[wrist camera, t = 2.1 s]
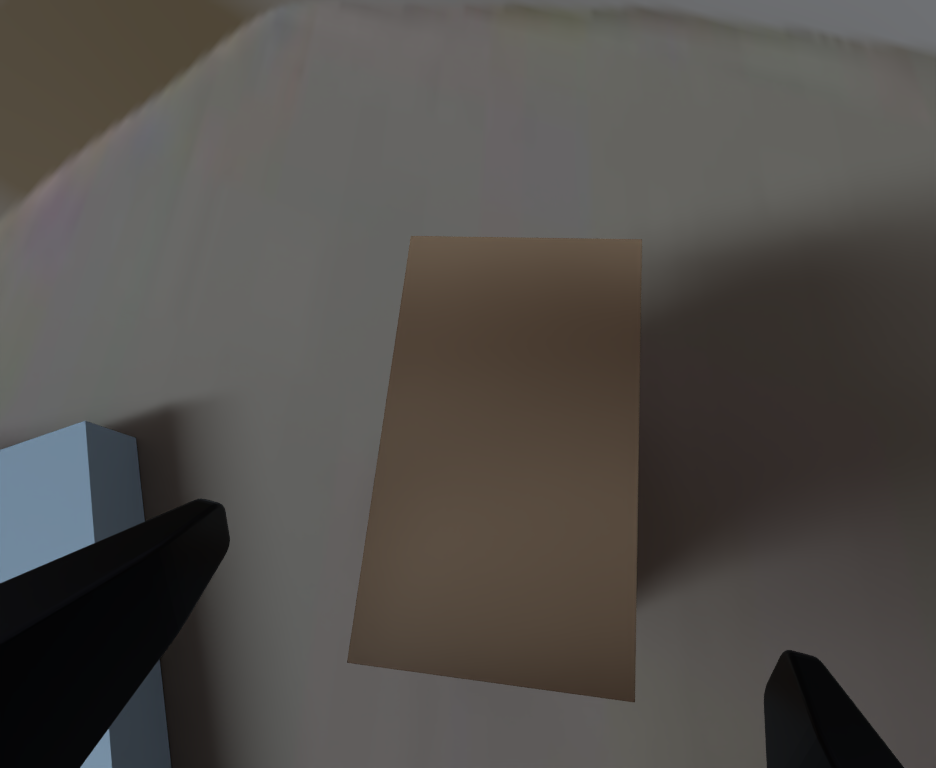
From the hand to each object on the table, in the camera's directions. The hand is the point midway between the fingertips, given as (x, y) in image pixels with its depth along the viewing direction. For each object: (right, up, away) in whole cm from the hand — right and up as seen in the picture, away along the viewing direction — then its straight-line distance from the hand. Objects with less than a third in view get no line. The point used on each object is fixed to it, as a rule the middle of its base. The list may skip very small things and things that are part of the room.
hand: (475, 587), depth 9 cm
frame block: (+2, -1, +10) cm, 10 cm away
